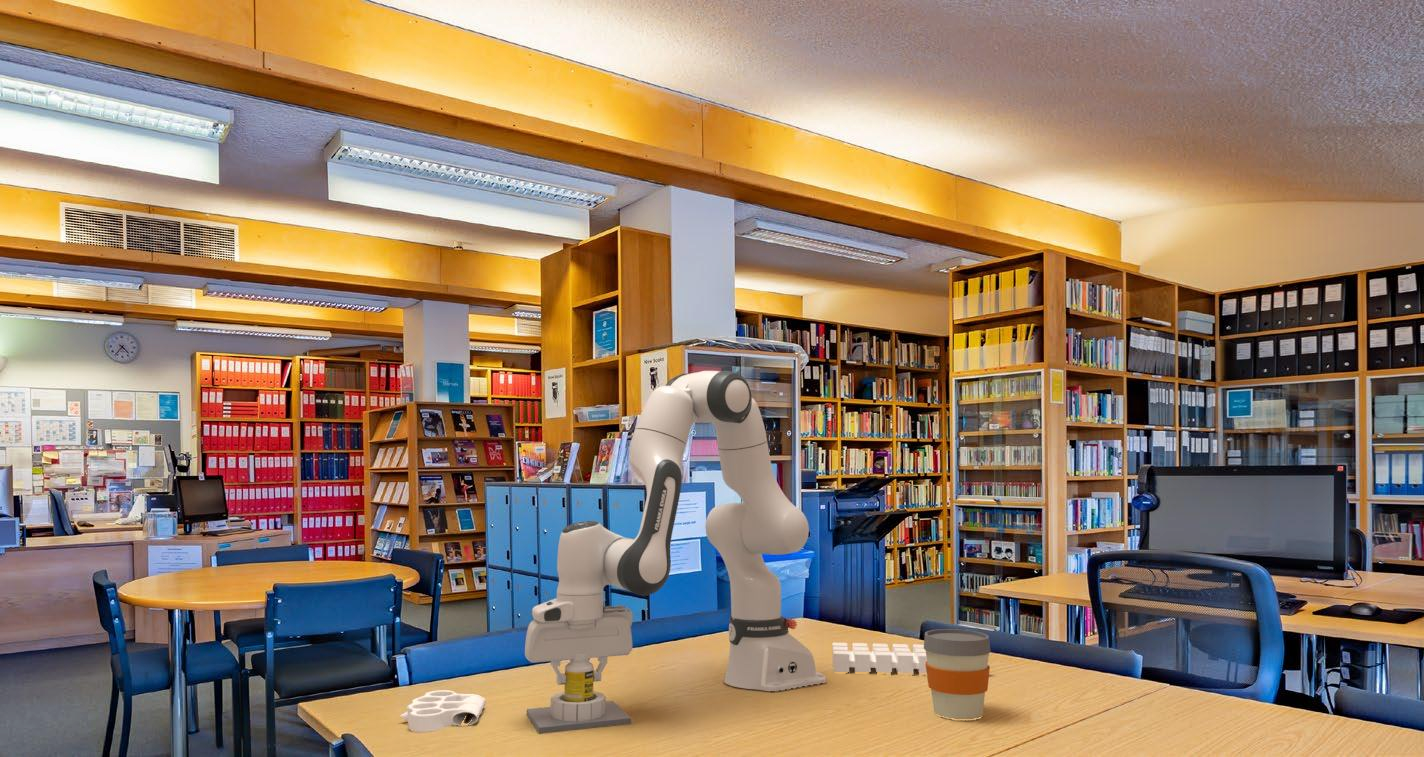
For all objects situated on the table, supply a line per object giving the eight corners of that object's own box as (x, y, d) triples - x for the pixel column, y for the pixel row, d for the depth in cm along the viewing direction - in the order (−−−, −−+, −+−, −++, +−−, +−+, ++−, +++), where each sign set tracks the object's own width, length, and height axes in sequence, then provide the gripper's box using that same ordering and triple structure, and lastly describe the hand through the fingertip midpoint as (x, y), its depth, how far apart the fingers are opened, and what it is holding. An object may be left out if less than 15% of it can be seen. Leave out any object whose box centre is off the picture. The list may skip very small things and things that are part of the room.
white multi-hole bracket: (474, 733, 162) (390, 735, 160) (487, 706, 180) (412, 708, 178) (474, 713, 162) (391, 716, 161) (488, 688, 180) (412, 690, 178)
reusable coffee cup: (993, 709, 177) (991, 631, 178) (991, 726, 165) (989, 643, 166) (928, 703, 181) (926, 627, 182) (921, 720, 169) (919, 638, 170)
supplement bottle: (587, 709, 166) (588, 655, 167) (559, 707, 167) (560, 653, 168) (597, 701, 172) (597, 649, 173) (570, 700, 173) (571, 648, 174)
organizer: (832, 642, 220) (979, 645, 216) (832, 662, 219) (979, 666, 215) (833, 653, 207) (990, 657, 203) (833, 675, 206) (990, 679, 202)
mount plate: (612, 705, 178) (613, 685, 179) (631, 723, 166) (631, 701, 167) (526, 714, 172) (527, 693, 173) (539, 733, 160) (539, 710, 161)
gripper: (628, 602, 178) (627, 674, 177) (523, 608, 171) (522, 683, 169) (637, 607, 172) (636, 681, 171) (529, 613, 165) (528, 691, 163)
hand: (578, 682), depth 170 cm, fingers closed on supplement bottle, 5 cm apart
